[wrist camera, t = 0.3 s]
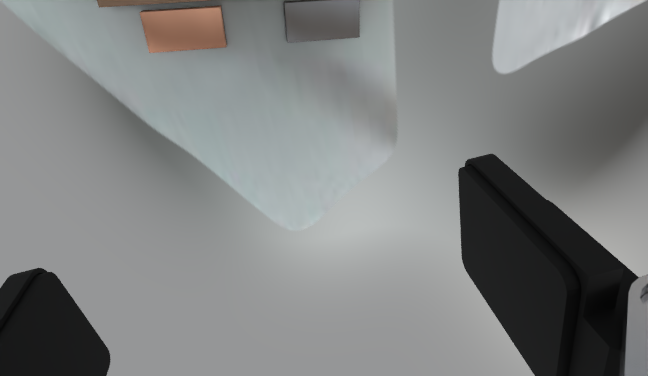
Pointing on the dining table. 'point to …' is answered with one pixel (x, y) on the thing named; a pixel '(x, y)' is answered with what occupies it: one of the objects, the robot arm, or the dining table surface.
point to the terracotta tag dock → (178, 25)
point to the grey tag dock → (321, 19)
